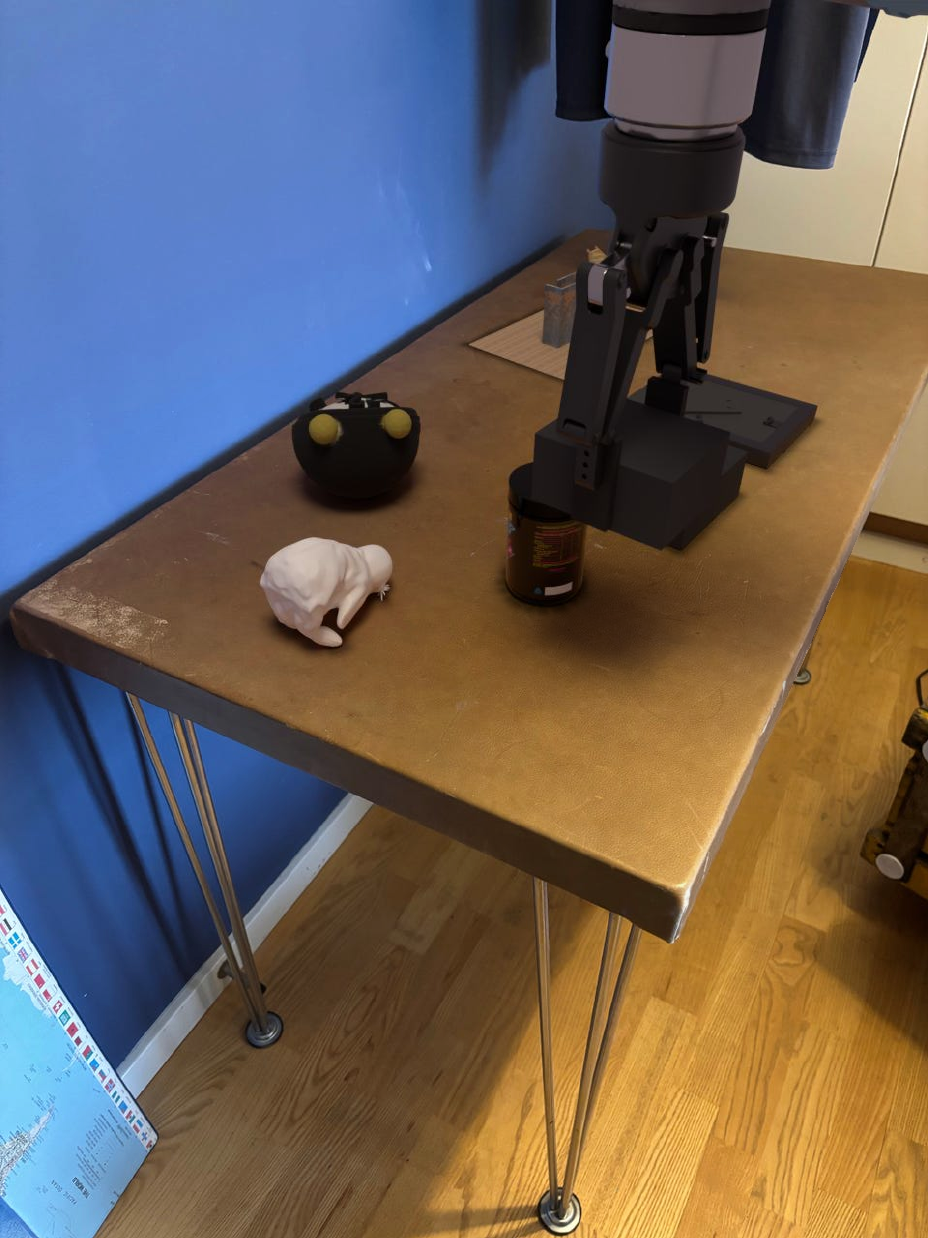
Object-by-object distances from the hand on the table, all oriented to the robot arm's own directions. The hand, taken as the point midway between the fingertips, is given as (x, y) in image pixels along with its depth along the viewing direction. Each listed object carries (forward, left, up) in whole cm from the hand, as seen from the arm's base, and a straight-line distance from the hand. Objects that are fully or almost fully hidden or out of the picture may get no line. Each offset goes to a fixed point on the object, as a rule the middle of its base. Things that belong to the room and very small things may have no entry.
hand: (624, 493), depth 62 cm
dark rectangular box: (+8, -23, -15) cm, 29 cm away
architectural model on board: (+37, -53, -16) cm, 67 cm away
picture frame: (+11, -42, -16) cm, 46 cm away
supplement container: (+9, -5, -16) cm, 19 cm away
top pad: (0, 0, 0) cm, 0 cm away
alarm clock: (+33, -7, -16) cm, 37 cm away
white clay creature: (+20, +9, -16) cm, 27 cm away
